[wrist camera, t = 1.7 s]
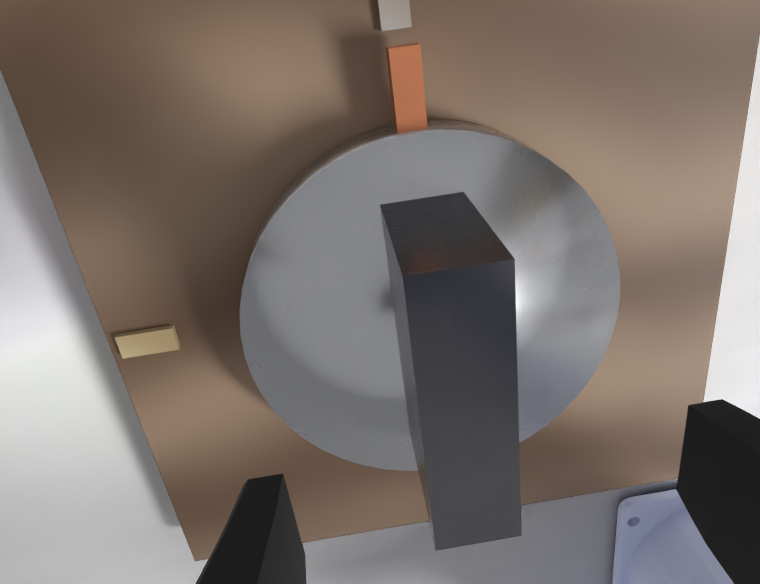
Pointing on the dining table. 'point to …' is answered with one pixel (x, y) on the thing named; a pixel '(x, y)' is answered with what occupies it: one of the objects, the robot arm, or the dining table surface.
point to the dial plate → (336, 125)
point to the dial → (430, 305)
